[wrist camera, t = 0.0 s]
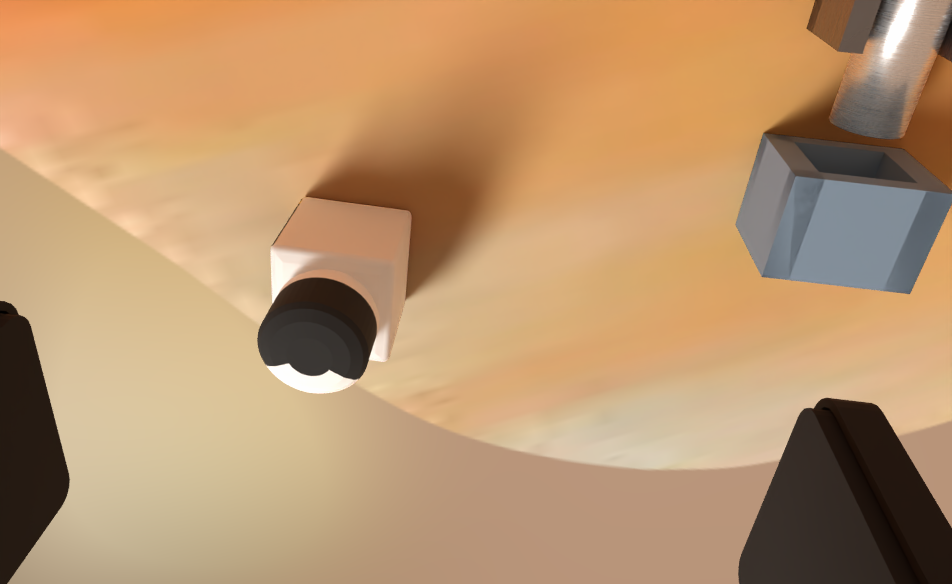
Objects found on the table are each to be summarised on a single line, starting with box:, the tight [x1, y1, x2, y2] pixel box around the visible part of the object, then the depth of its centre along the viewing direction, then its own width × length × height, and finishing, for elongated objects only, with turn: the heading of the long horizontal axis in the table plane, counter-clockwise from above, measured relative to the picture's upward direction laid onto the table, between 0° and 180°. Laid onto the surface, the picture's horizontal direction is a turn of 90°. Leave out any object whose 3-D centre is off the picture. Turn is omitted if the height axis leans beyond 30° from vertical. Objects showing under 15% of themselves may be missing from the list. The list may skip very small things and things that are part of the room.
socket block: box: [736, 133, 952, 294], centre depth 43 cm, size 6×8×6 cm
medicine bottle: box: [257, 197, 412, 393], centre depth 45 cm, size 7×7×12 cm
